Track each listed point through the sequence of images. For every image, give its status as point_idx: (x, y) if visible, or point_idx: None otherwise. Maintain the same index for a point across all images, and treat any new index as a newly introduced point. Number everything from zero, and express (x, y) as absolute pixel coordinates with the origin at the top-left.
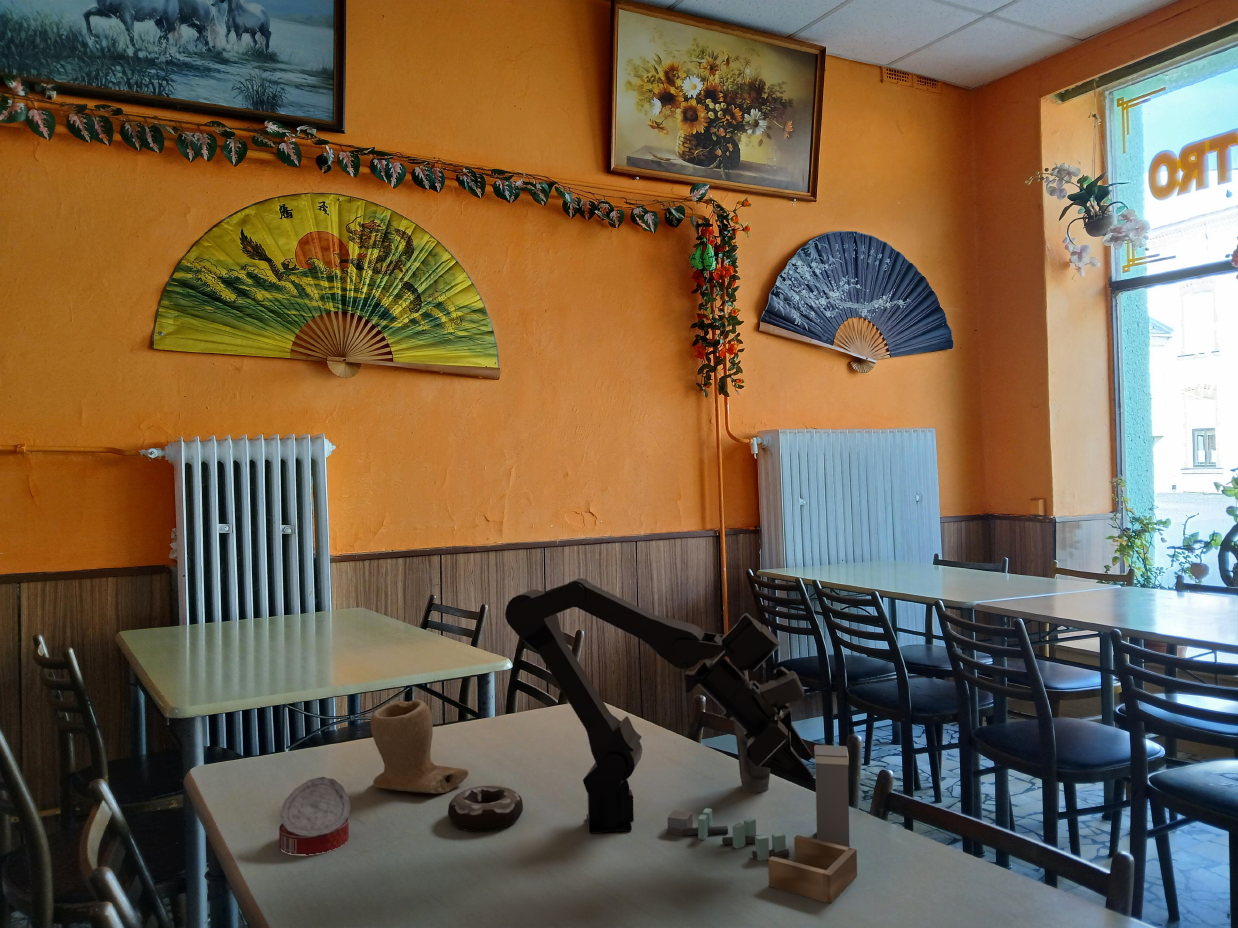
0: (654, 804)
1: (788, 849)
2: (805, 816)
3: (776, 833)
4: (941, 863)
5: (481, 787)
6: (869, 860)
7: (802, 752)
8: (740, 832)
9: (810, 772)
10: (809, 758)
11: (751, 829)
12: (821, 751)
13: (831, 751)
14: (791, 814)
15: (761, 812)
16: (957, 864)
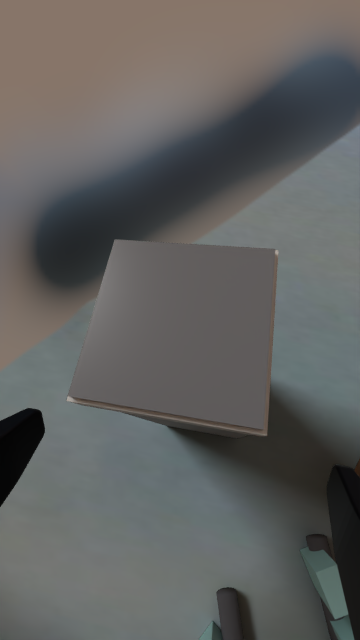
0: None
1: (322, 539)
2: (77, 436)
3: (329, 598)
4: (303, 224)
5: None
6: (309, 339)
7: (11, 459)
8: None
9: (344, 482)
10: (40, 424)
11: None
12: (197, 377)
13: (198, 319)
14: (60, 470)
15: (33, 559)
16: (303, 203)
